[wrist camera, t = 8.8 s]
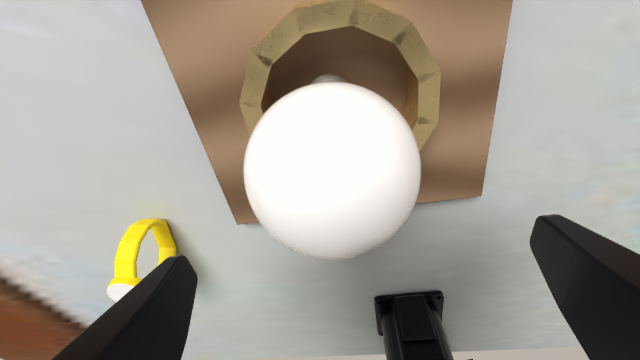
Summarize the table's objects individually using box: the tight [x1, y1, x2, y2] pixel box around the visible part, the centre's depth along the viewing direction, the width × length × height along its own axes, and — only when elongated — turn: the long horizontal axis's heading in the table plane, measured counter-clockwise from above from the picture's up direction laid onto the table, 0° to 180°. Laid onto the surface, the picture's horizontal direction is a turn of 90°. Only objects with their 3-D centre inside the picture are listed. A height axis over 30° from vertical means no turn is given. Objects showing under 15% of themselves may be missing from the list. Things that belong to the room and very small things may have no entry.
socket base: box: [141, 0, 513, 225], centre depth 18 cm, size 18×18×1 cm
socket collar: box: [239, 0, 441, 152], centre depth 17 cm, size 10×10×3 cm
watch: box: [107, 219, 177, 302], centre depth 24 cm, size 6×3×6 cm, turn 1°
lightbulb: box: [243, 74, 421, 260], centre depth 13 cm, size 6×6×11 cm
